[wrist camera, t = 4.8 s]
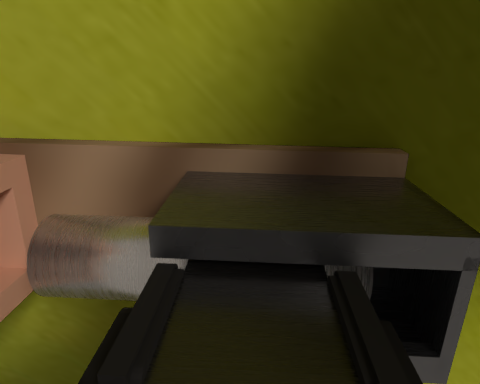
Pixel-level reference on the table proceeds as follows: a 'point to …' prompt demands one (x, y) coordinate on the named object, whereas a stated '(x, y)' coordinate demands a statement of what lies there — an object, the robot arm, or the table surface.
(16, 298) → the socket block
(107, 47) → the table surface
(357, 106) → the table surface
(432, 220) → the dark grey open box
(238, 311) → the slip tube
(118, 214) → the base board
